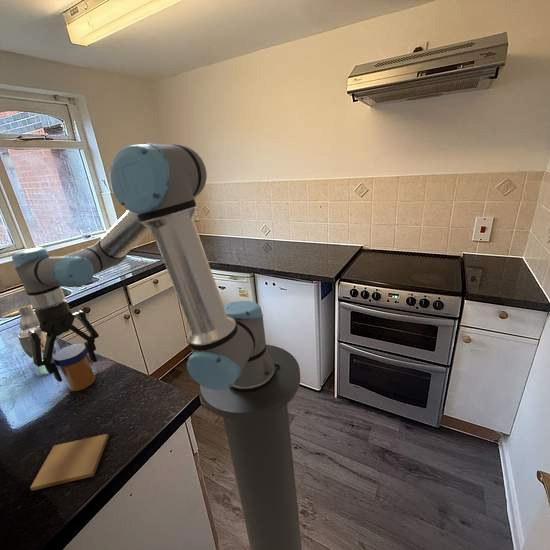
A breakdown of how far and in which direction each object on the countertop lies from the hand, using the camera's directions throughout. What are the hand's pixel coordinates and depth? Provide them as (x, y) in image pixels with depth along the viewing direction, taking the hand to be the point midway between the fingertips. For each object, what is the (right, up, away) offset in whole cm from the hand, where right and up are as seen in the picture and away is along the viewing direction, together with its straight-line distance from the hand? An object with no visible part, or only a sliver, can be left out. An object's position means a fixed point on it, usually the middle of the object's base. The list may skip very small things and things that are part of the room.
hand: (77, 369), depth 90 cm
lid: (-1, +6, -2) cm, 6 cm away
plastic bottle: (-22, -1, +17) cm, 27 cm away
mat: (+15, -13, -24) cm, 31 cm away
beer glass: (-16, -3, +10) cm, 19 cm away
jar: (0, -5, +2) cm, 5 cm away
